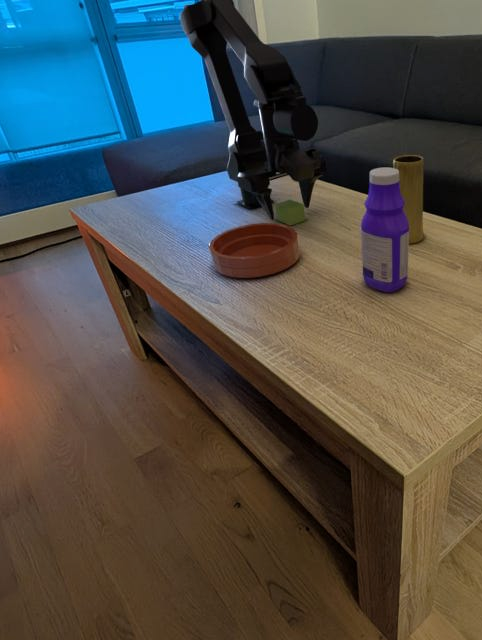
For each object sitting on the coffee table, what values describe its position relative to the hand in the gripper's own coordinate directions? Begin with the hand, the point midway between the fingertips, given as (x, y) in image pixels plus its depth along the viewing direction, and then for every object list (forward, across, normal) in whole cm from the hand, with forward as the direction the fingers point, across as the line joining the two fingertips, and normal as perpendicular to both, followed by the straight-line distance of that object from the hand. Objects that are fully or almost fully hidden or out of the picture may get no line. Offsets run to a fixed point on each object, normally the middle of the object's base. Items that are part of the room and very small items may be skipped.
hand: (289, 213), depth 96 cm
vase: (+2, +9, -26) cm, 28 cm away
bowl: (+1, -16, -12) cm, 20 cm away
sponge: (+1, 0, 0) cm, 1 cm away
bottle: (+2, -7, -36) cm, 37 cm away
